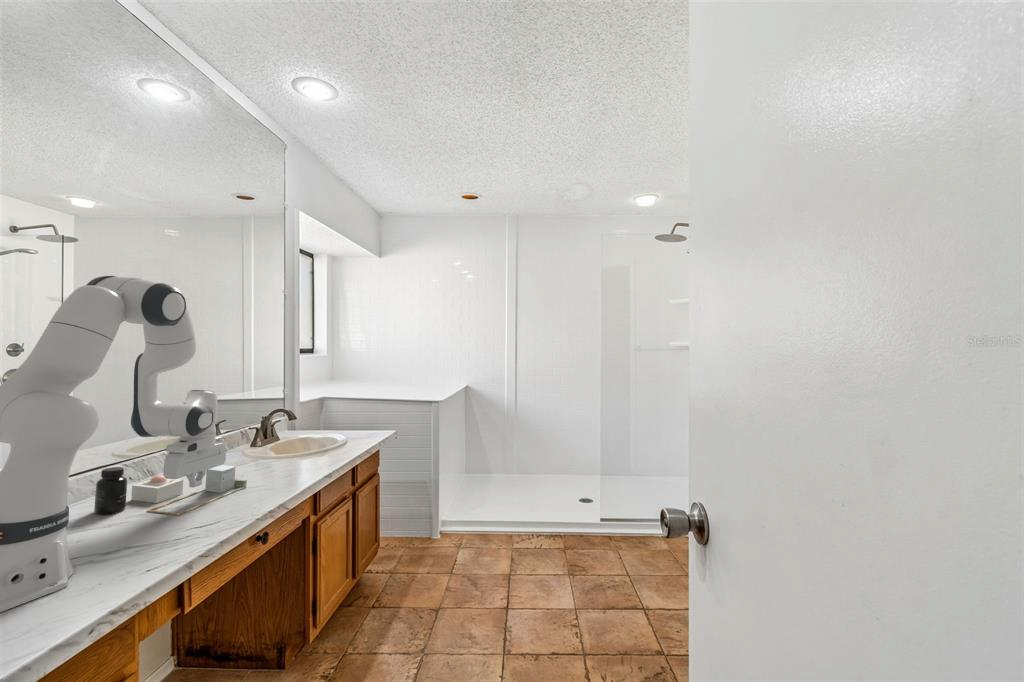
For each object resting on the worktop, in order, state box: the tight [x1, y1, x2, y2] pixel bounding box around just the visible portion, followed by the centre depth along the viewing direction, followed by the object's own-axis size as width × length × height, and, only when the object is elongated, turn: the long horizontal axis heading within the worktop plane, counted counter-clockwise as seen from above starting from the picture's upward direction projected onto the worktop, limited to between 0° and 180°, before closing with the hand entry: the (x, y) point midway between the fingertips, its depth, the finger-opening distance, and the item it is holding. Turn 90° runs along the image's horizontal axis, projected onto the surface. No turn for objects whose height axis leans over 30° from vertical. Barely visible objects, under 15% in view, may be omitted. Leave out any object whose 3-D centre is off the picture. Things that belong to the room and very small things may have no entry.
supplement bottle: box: [93, 466, 128, 515], centre depth 132 cm, size 7×7×12 cm
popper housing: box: [130, 478, 184, 504], centre depth 144 cm, size 9×9×4 cm
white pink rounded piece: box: [147, 474, 170, 487], centre depth 144 cm, size 6×6×6 cm
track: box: [146, 478, 248, 517], centre depth 145 cm, size 27×10×2 cm, turn 172°
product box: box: [204, 464, 236, 494], centre depth 154 cm, size 6×6×7 cm
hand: (195, 486), depth 143 cm, fingers closed
